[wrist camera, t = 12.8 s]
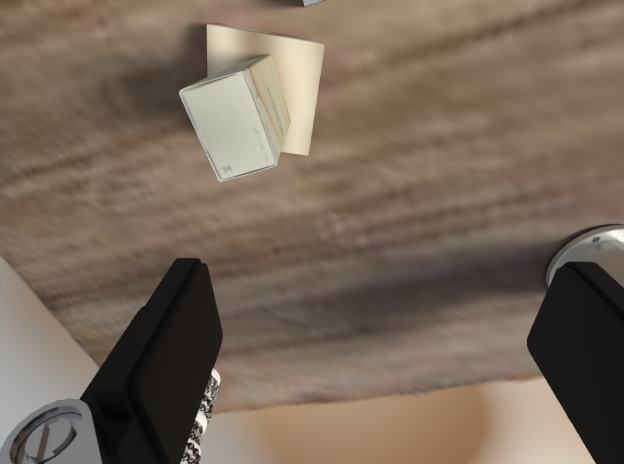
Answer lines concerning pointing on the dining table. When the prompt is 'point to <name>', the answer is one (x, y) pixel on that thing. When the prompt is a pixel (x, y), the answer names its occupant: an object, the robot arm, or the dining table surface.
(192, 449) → the decorative candle
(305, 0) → the grey cube
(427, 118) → the dining table surface
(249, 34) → the pedestal
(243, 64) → the skincare box
